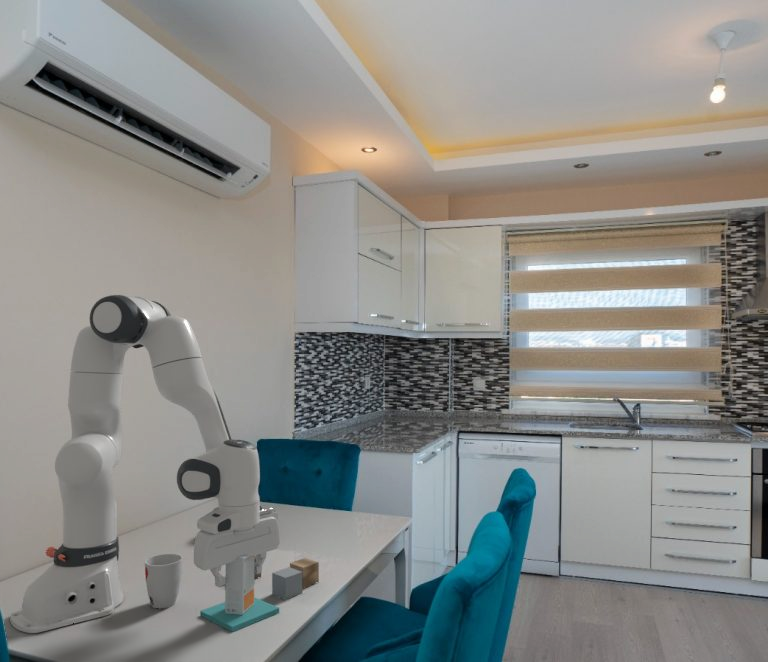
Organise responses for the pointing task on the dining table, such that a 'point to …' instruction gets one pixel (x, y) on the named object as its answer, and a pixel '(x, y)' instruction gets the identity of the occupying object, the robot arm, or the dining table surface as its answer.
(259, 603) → the teal mat
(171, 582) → the cup
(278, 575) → the slate grey block
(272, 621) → the dining table surface
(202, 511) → the dining table surface
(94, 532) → the robot arm
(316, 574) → the light brown wooden cube
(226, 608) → the skincare box
